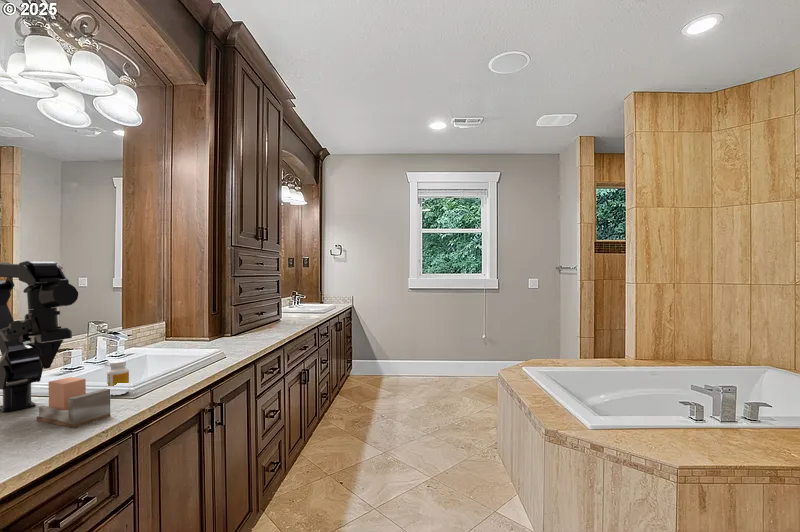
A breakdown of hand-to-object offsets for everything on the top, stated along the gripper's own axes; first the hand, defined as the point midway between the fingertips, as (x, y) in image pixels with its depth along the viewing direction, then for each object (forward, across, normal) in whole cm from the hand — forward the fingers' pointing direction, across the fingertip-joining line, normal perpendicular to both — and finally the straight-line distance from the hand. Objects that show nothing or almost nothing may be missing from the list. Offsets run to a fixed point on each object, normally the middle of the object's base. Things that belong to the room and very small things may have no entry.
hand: (46, 368), depth 108 cm
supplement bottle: (+12, -4, +18) cm, 22 cm away
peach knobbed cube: (+11, +7, +2) cm, 13 cm away
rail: (+13, +10, +2) cm, 16 cm away
